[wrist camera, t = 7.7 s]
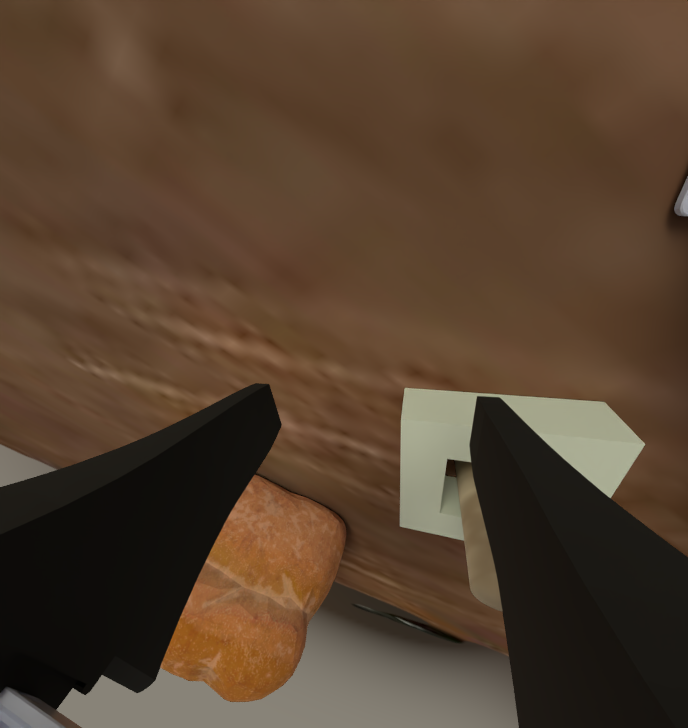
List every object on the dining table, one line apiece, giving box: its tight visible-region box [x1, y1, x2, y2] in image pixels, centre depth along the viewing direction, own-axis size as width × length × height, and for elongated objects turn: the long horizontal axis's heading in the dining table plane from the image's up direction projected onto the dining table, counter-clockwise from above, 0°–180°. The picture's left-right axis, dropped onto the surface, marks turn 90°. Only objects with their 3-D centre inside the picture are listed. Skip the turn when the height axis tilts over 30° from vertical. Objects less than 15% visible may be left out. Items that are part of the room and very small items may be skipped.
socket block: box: [400, 388, 645, 541], centre depth 19 cm, size 12×12×4 cm
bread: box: [160, 475, 346, 702], centre depth 27 cm, size 14×26×15 cm, turn 72°
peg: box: [454, 460, 503, 612], centre depth 16 cm, size 4×4×9 cm
